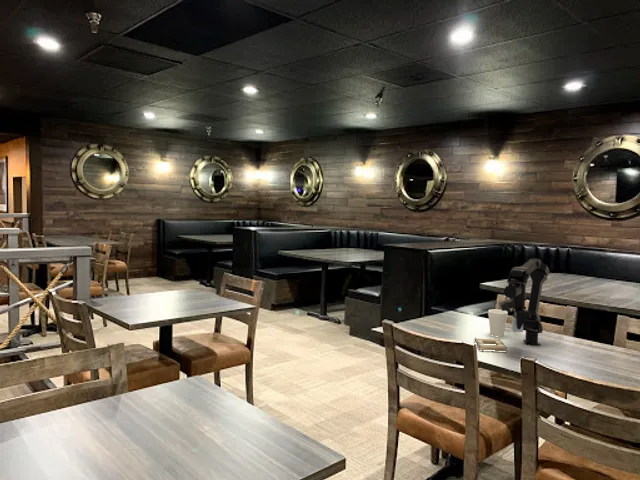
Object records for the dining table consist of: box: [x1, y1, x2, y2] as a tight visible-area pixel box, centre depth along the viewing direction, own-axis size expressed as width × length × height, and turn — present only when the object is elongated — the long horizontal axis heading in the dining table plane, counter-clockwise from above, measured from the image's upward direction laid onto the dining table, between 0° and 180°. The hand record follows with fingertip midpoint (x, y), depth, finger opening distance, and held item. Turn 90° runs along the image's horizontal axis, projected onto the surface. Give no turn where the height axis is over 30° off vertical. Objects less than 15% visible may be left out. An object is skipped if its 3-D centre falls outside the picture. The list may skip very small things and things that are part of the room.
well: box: [474, 337, 508, 351], centre depth 234 cm, size 14×12×2 cm
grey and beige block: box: [511, 316, 524, 333], centre depth 226 cm, size 4×4×6 cm
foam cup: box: [487, 308, 509, 338], centre depth 253 cm, size 10×9×13 cm
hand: (517, 327), depth 226 cm, fingers closed on grey and beige block, 4 cm apart
